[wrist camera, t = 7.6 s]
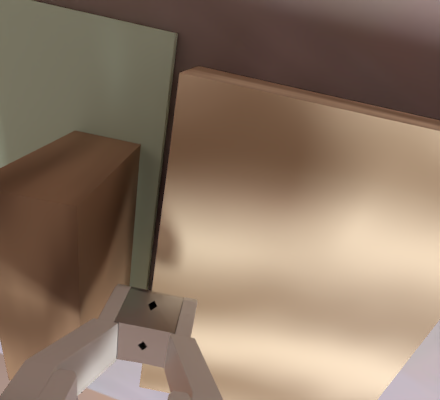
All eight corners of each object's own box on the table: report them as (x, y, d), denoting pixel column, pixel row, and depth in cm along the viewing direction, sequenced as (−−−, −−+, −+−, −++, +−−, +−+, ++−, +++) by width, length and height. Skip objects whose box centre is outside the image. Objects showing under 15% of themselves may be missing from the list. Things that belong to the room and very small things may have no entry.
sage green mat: (-125, -36, 12) (-139, -39, 11) (177, 33, 12) (175, 32, 11) (-35, 297, 20) (-42, 302, 19) (142, 332, 20) (140, 339, 20)
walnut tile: (140, 144, 14) (75, 130, 13) (76, 206, 8) (-33, 184, 8) (129, 288, 18) (78, 279, 18) (81, 392, 12) (9, 380, 12)
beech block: (198, 65, 12) (179, 72, 9) (474, 128, 13) (564, 159, 9) (158, 325, 20) (139, 387, 16) (334, 361, 20) (353, 429, 16)
